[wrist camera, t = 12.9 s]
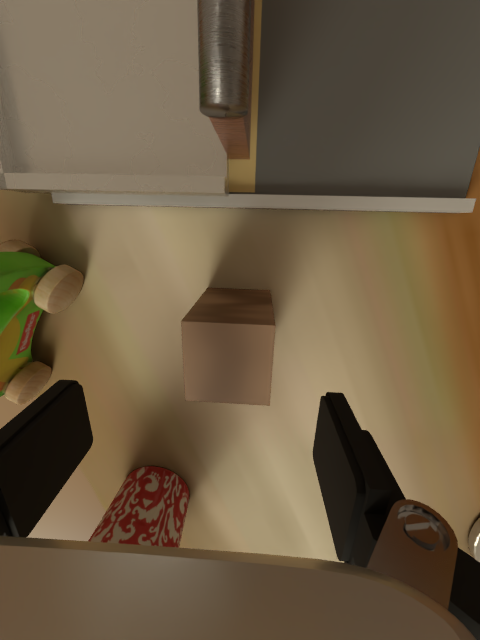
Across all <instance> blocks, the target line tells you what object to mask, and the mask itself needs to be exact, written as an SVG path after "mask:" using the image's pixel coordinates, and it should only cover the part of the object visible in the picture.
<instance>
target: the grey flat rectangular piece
mask: <svg viewBox="0 0 480 640" xmlns="http://www.w3.org/2000/svg"><path fill="white" fill-rule="evenodd" d="M479 147H480V0H255V7H254V39H253V71H252V103H251V135H250V159H229V197H223V196H174V195H124V194H75V193H51V194H52V199H53V203H59V204H74V205H118V206H163V207H207V208H252V209H296V210H341V211H385V212H430V213H468V212H472V211H473V208H474V204H475V201H476V199H465V198H466V194H467V191H468V187H469V183H470V180H471V176H472V172H473V169H474V165H475V161H476V158H477V154H478V150H479Z"/></svg>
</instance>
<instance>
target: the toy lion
mask: <svg viewBox="0 0 480 640" xmlns="http://www.w3.org/2000/svg"><path fill="white" fill-rule="evenodd" d="M82 286H83V275H82V273H81V272H79V271H78V270H76V269H74V268H72V267H70V266H68V265H59V266H54V265H53V264H51V263H49V262H47V261H45V260H43V259H41V256H40V253H39V252H38V250H37V249H35V248H34V247H32V246H30V245H28V244H27V243H25V242H23V241H20V240H9V241H6V242H4V243H2V244H0V397H1V396H2V395H4V394H5V398H6V399H8V400H10V401H12V402H14V403H16V404H18V405H22V404H24V403H26V402H28V401H30V400H31V399H32V398H33V397H35V396H36V395H37V394H38V393H39V392H40V391H41V390H42V388H43V387H44V386H45V384H46V383H47V381H48V380H49V378H50V375H51V368H50V367H49V366H47V365H45V364H43V363H41V362H39V361H35V362H32V356H31V343H32V338H33V334H34V331H35V327H36V325H37V322H38V320H39V318H40V316H41V313H42V312H43V310H45V311H47V312H49V313H58V312H61V311H63V310H64V309H66V308H67V307H68V306H69V305H71V304H72V302H73V301H74V300H75V299H76V297H77V296H78V294H79V293H80V291H81V288H82Z"/></svg>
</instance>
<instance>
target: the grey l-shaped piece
mask: <svg viewBox="0 0 480 640" xmlns="http://www.w3.org/2000/svg"><path fill="white" fill-rule="evenodd" d="M254 7H255V0H0V189H1V190H9V191H17V192H25V193H75V194H124V195H174V196H223V197H229V159H250V135H251V103H252V71H253V39H254Z"/></svg>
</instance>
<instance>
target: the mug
mask: <svg viewBox="0 0 480 640" xmlns="http://www.w3.org/2000/svg"><path fill="white" fill-rule="evenodd" d="M188 503H189V490H188V487H187V485H186V484H185V482H184V481H183V480H182V479H181V478H180V477H179V476H178V475H177V474H175V473H174V472H172V471H170V470H167V469H165V468H161V467H156V466H146V467H141V468H138V469H136V470H134V471H133V472H131V473H130V474H129V475H128V477H127V478H126V480H125V481H124V483H123V484H122V486H121V488H120V490H119V491H118V493H117V495H116V496H115V498H114V500H113V501H112V503H111V505H110V506H109V508H108V510H107V511H106V513H105V515H104V516H103V518H102V520H101V521H100V523H99V525H98V526H97V528H96V529H95V532H94V533H93V534H92V536H91V538H90V539H89V542H103V543H118V544H133V545H148V546H162V547H176V548H179V546H180V541H181V536H182V531H183V526H184V522H185V517H186V512H187V508H188Z"/></svg>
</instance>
